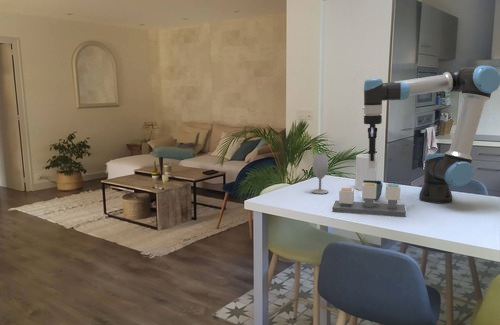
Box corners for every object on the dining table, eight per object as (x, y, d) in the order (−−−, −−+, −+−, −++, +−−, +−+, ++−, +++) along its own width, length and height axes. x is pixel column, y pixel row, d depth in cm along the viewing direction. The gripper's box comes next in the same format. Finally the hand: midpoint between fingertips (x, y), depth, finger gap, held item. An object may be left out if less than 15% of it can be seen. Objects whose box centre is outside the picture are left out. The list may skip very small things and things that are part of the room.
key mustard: (376, 195, 195) (376, 182, 194) (375, 198, 189) (376, 185, 188) (362, 194, 197) (363, 181, 196) (361, 198, 191) (362, 184, 190)
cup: (354, 186, 243) (355, 154, 239) (374, 186, 241) (375, 154, 238) (356, 190, 232) (357, 157, 229) (377, 191, 230) (378, 157, 227)
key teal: (399, 197, 192) (400, 183, 191) (399, 200, 186) (400, 186, 185) (385, 196, 194) (385, 183, 193) (385, 199, 188) (386, 185, 187)
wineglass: (330, 191, 230) (331, 153, 227) (324, 195, 223) (325, 155, 219) (315, 189, 235) (316, 152, 231) (309, 193, 228) (309, 154, 224)
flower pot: (382, 202, 207) (382, 184, 206) (363, 201, 209) (363, 183, 208) (380, 198, 216) (381, 180, 214) (362, 197, 218) (362, 180, 216)
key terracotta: (353, 200, 198) (353, 187, 197) (352, 203, 193) (353, 190, 192) (340, 199, 200) (340, 187, 199) (339, 203, 194) (339, 189, 193)
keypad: (404, 208, 196) (405, 194, 194) (405, 217, 183) (406, 201, 182) (335, 204, 205) (335, 190, 203) (332, 211, 192) (332, 196, 191)
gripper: (364, 113, 194) (364, 165, 198) (362, 115, 182) (362, 170, 186) (382, 113, 192) (381, 165, 196) (381, 115, 180) (380, 170, 184)
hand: (372, 167), depth 191 cm, fingers closed
